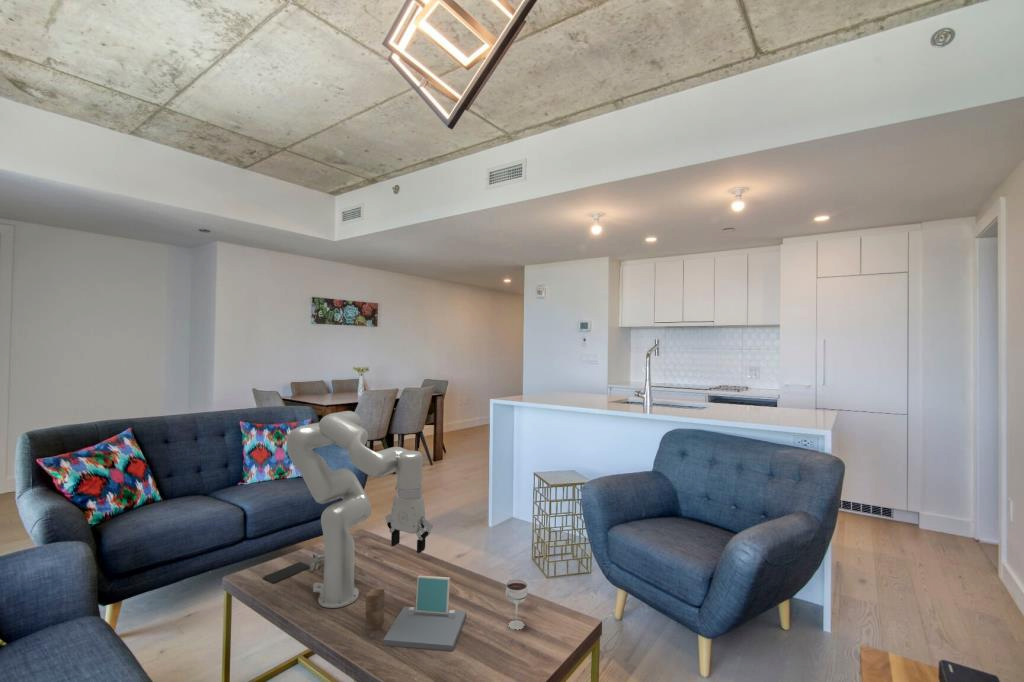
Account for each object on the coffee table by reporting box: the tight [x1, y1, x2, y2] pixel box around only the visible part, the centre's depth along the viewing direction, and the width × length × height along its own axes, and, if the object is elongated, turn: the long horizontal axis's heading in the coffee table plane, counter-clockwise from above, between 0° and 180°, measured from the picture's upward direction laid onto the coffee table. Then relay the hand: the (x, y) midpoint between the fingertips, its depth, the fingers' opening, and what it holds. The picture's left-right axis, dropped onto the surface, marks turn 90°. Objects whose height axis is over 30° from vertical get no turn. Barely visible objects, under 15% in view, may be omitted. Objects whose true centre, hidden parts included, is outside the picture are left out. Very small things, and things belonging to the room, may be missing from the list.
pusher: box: [365, 587, 385, 631], centre depth 142 cm, size 4×4×10 cm
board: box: [382, 606, 467, 652], centre depth 140 cm, size 20×17×3 cm
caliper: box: [309, 553, 324, 573], centre depth 183 cm, size 20×1×6 cm, turn 151°
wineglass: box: [505, 579, 529, 631], centre depth 143 cm, size 7×7×12 cm
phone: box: [262, 561, 310, 584], centre depth 174 cm, size 7×1×15 cm
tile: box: [415, 575, 451, 614], centre depth 146 cm, size 10×10×1 cm
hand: (407, 547), depth 145 cm, fingers open, 9 cm apart
